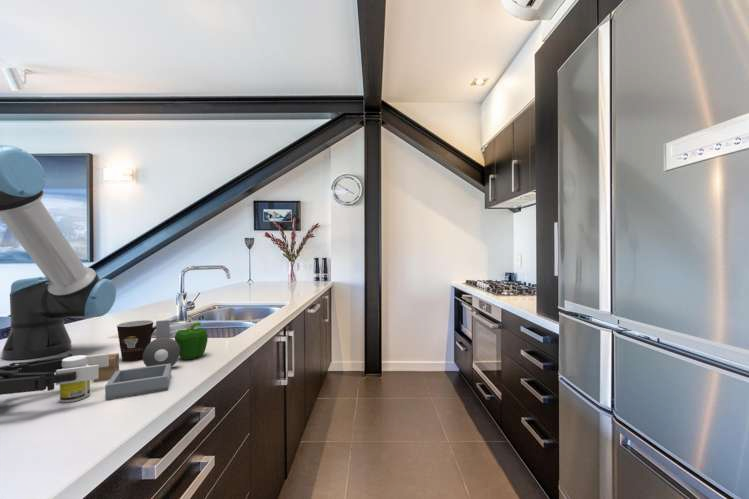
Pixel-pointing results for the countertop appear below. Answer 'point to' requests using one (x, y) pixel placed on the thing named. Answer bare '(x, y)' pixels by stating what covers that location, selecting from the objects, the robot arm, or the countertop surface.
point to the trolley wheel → (161, 347)
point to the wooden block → (109, 368)
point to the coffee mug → (134, 339)
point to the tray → (138, 381)
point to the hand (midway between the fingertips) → (103, 365)
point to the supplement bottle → (74, 389)
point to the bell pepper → (192, 341)
